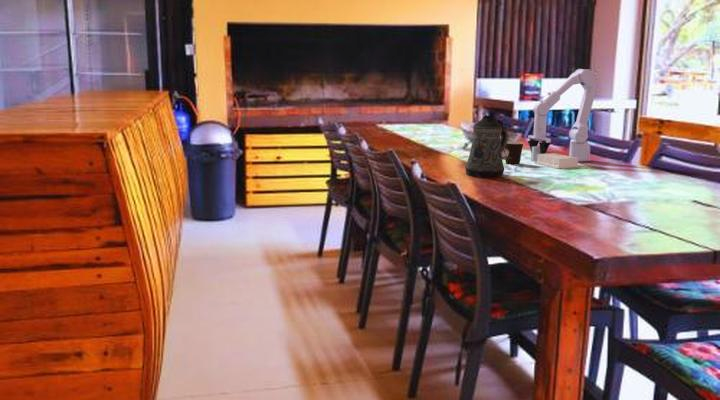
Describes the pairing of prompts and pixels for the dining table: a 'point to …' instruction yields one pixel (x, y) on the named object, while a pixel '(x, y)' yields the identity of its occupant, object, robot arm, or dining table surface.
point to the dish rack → (557, 160)
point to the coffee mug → (513, 152)
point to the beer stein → (487, 149)
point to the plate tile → (535, 153)
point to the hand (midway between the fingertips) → (538, 155)
